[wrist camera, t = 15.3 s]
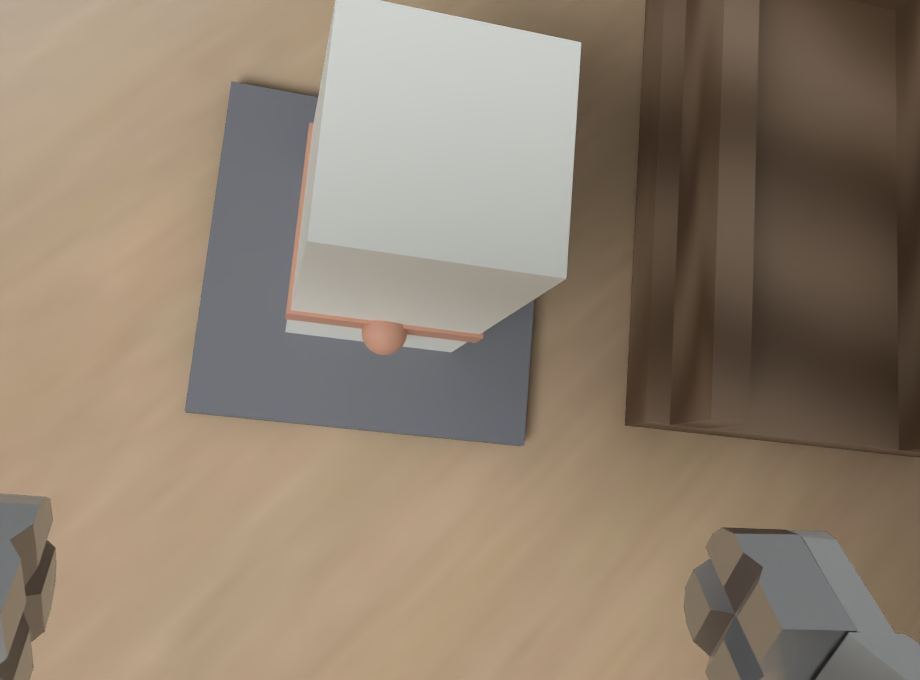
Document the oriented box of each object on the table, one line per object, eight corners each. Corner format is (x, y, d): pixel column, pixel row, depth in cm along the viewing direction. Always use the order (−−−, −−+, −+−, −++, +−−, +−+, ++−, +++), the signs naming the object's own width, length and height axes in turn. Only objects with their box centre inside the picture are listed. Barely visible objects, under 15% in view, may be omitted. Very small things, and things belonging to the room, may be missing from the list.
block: (452, 378, 26) (568, 319, 17) (278, 358, 25) (296, 282, 16) (467, 194, 27) (586, 39, 18) (302, 166, 26) (331, -15, 17)
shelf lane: (917, 457, 30) (1028, 453, 26) (625, 425, 28) (693, 415, 24) (912, 13, 33) (1010, -57, 29) (648, -50, 31) (713, -136, 27)
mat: (519, 446, 27) (524, 445, 26) (185, 412, 25) (184, 411, 24) (540, 144, 29) (545, 138, 28) (231, 88, 27) (231, 81, 26)
